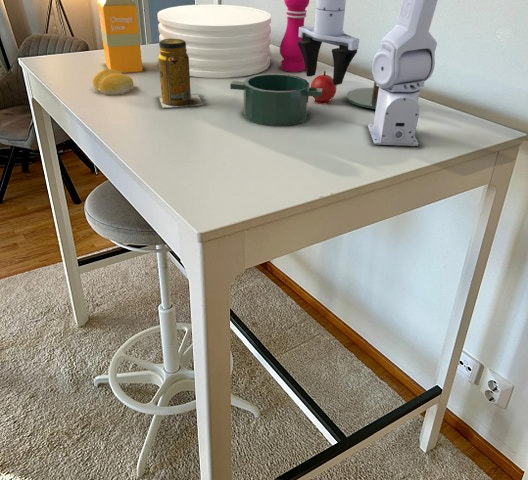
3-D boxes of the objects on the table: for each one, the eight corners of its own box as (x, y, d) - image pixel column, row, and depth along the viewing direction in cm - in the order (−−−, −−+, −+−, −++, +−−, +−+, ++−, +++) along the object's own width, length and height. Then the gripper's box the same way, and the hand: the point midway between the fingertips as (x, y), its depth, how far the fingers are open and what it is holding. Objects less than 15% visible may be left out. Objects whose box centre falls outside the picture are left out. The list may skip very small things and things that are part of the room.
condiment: (159, 97, 117) (153, 37, 110) (198, 95, 119) (195, 36, 112) (162, 108, 111) (157, 45, 104) (203, 106, 113) (201, 44, 106)
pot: (315, 130, 104) (318, 96, 100) (223, 121, 107) (223, 87, 103) (323, 109, 114) (326, 77, 110) (239, 101, 117) (239, 70, 113)
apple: (335, 106, 116) (339, 75, 112) (309, 105, 116) (312, 74, 112) (333, 98, 120) (336, 68, 117) (308, 97, 120) (311, 67, 117)
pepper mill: (291, 74, 135) (297, -18, 123) (273, 67, 140) (276, -22, 128) (313, 69, 139) (320, -20, 127) (294, 63, 143) (299, -24, 132)
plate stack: (140, 59, 142) (135, 10, 136) (224, 45, 158) (223, 1, 151) (205, 84, 126) (203, 30, 119) (292, 66, 141) (294, 17, 135)
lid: (408, 115, 113) (413, 90, 110) (342, 108, 115) (345, 84, 112) (408, 95, 123) (412, 73, 120) (348, 90, 125) (350, 68, 123)
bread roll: (107, 98, 116) (105, 78, 114) (88, 87, 121) (85, 69, 119) (142, 91, 120) (140, 72, 118) (121, 81, 126) (119, 63, 124)
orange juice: (111, 73, 131) (98, -22, 119) (105, 64, 138) (92, -27, 126) (143, 71, 134) (134, -23, 122) (136, 62, 140) (127, -28, 128)
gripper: (372, 12, 106) (362, 84, 114) (316, 1, 114) (311, 69, 122) (348, 16, 102) (340, 90, 110) (293, 4, 110) (289, 74, 118)
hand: (323, 79), depth 116 cm, fingers open, 7 cm apart
